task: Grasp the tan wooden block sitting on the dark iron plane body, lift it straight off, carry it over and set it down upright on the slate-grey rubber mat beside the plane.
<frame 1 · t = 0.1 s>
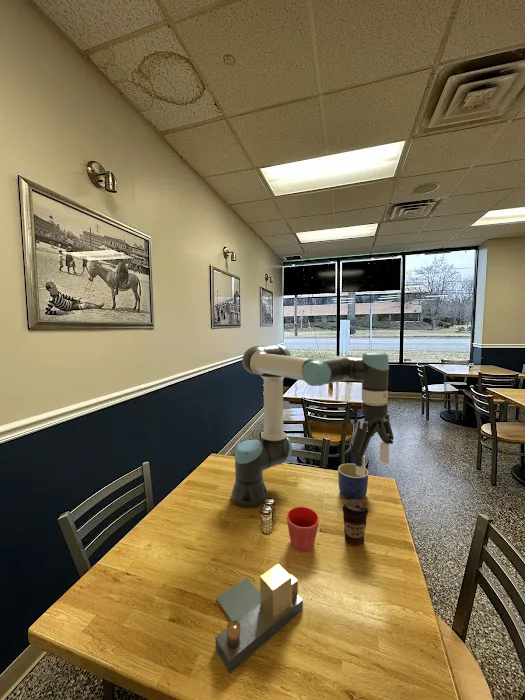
hand: (372, 468, 91), 28 cm above the table, fingers open, 13 cm apart
coffee cup: (354, 541, 99), on the table
flower pot: (302, 544, 98), on the table
mat: (242, 602, 77), on the table
planter: (352, 494, 126), on the table
plane body: (261, 628, 70), on the table
tan wooden block: (275, 606, 73), point 3 cm above the table, touching plane body
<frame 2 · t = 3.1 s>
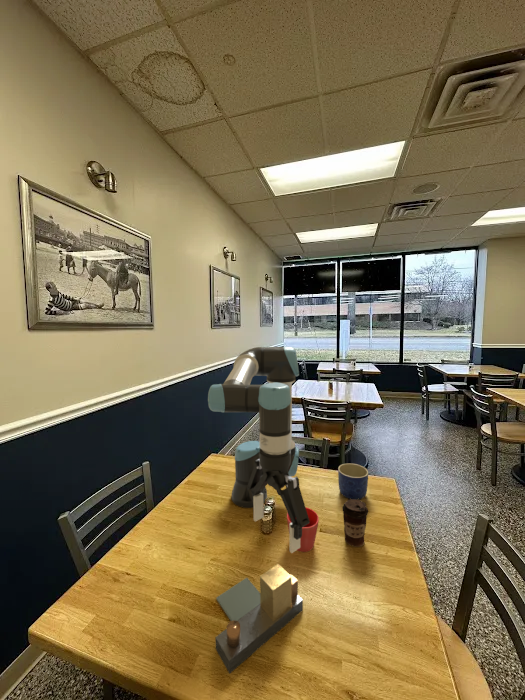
hand: (275, 533, 71), 23 cm above the table, fingers open, 13 cm apart
nothing on the table moved.
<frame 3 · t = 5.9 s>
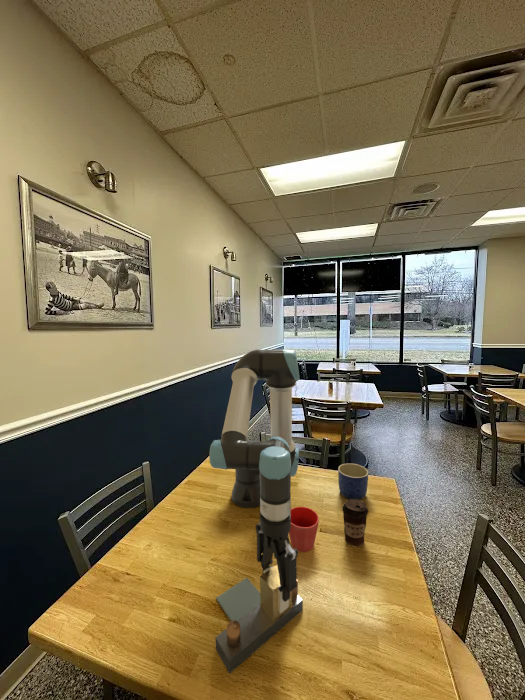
hand: (275, 600, 73), 5 cm above the table, fingers closed on tan wooden block, 5 cm apart
tan wooden block: (275, 605, 73), point 3 cm above the table, touching gripper, plane body
everything else where it was.
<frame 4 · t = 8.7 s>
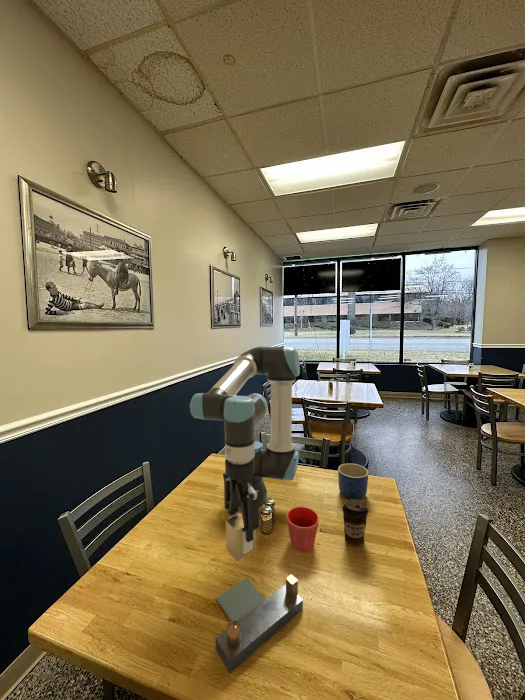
hand: (241, 543, 76), 17 cm above the table, fingers closed on tan wooden block, 5 cm apart
tan wooden block: (241, 549, 76), point 15 cm above the table, touching gripper
everything else where it was.
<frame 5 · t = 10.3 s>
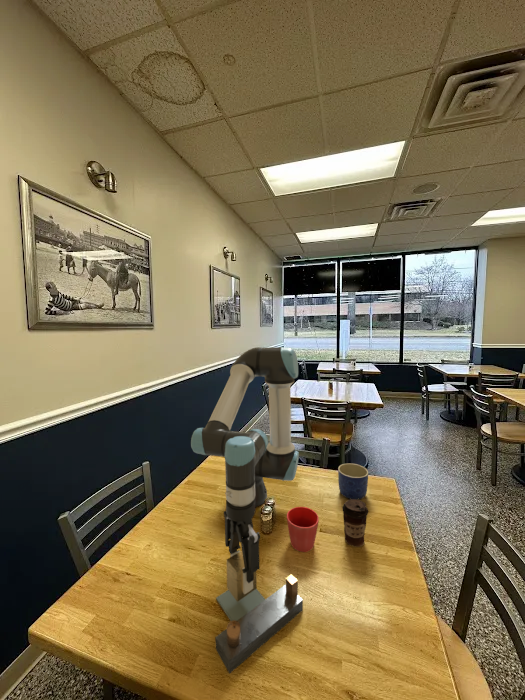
hand: (241, 582, 76), 6 cm above the table, fingers closed on tan wooden block, 5 cm apart
tan wooden block: (241, 588, 77), point 4 cm above the table, touching gripper
everything else where it was.
when the fingers open (3 cm above the table, at t = 11.7 s): tan wooden block stays where it is, resting on mat.
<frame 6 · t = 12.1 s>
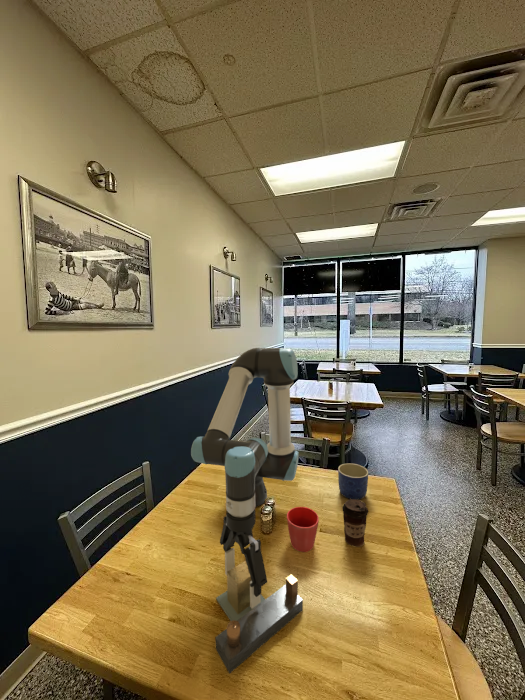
hand: (242, 587, 77), 4 cm above the table, fingers open, 11 cm apart
tan wooden block: (242, 600, 77), point 1 cm above the table, touching mat
everything else where it was.
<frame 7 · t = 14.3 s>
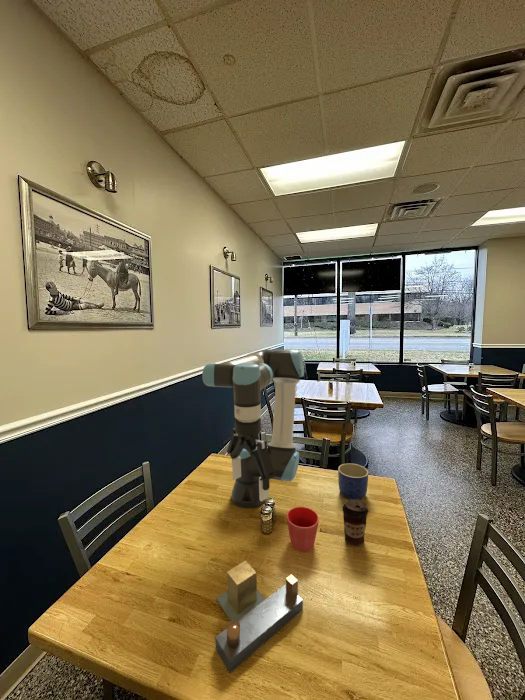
hand: (249, 487, 85), 26 cm above the table, fingers open, 13 cm apart
nothing on the table moved.
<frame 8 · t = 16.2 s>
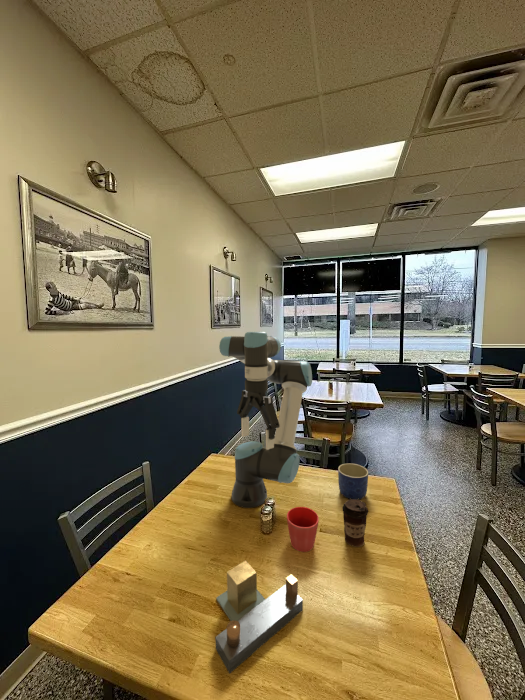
hand: (257, 441, 97), 35 cm above the table, fingers open, 13 cm apart
nothing on the table moved.
at the end: tan wooden block inside the target area on the mat (0.1 cm from its centre), point 0.6 cm above the mat's base; tan wooden block tilted 0°; the gripper is holding nothing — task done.
